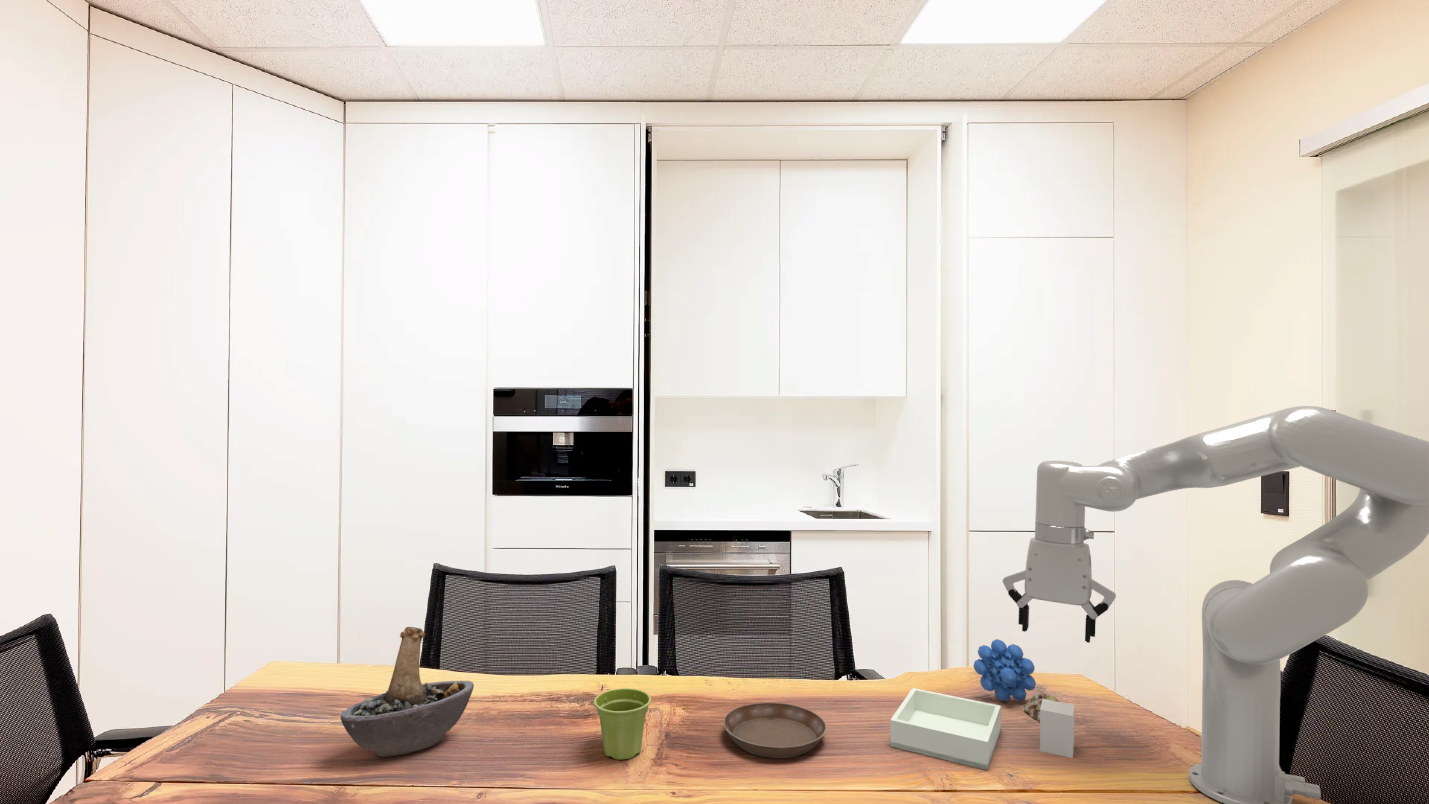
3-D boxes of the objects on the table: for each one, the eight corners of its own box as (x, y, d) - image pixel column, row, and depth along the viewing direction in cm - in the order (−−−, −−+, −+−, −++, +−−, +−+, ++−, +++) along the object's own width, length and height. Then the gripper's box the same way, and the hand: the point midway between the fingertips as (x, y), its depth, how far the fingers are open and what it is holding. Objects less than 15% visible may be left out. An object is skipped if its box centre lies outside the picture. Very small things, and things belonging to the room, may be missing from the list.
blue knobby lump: (977, 708, 137) (978, 645, 137) (970, 693, 144) (971, 634, 144) (1042, 712, 136) (1043, 649, 136) (1031, 698, 142) (1032, 637, 142)
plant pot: (596, 769, 113) (597, 714, 113) (590, 741, 123) (591, 690, 122) (655, 761, 116) (655, 708, 116) (645, 735, 125) (645, 685, 125)
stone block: (1074, 745, 123) (1074, 705, 123) (1072, 758, 119) (1073, 716, 119) (1042, 738, 125) (1042, 698, 125) (1039, 751, 121) (1040, 709, 121)
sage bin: (1000, 731, 128) (1000, 705, 128) (987, 770, 114) (987, 742, 114) (912, 711, 136) (912, 687, 136) (890, 746, 122) (890, 719, 122)
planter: (477, 732, 125) (478, 618, 125) (413, 781, 109) (414, 650, 109) (406, 721, 129) (406, 610, 129) (333, 767, 113) (334, 640, 113)
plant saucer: (753, 709, 137) (753, 693, 137) (841, 732, 127) (841, 715, 127) (704, 747, 121) (704, 729, 121) (800, 776, 112) (800, 757, 112)
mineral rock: (1014, 692, 140) (1056, 683, 139) (1020, 713, 140) (1062, 705, 139) (1032, 718, 130) (1077, 709, 129) (1038, 741, 130) (1084, 732, 129)
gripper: (1117, 536, 121) (1114, 638, 121) (1007, 525, 129) (1004, 619, 130) (1117, 544, 114) (1113, 651, 115) (1001, 531, 123) (998, 631, 123)
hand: (1055, 634), depth 122 cm, fingers open, 9 cm apart
